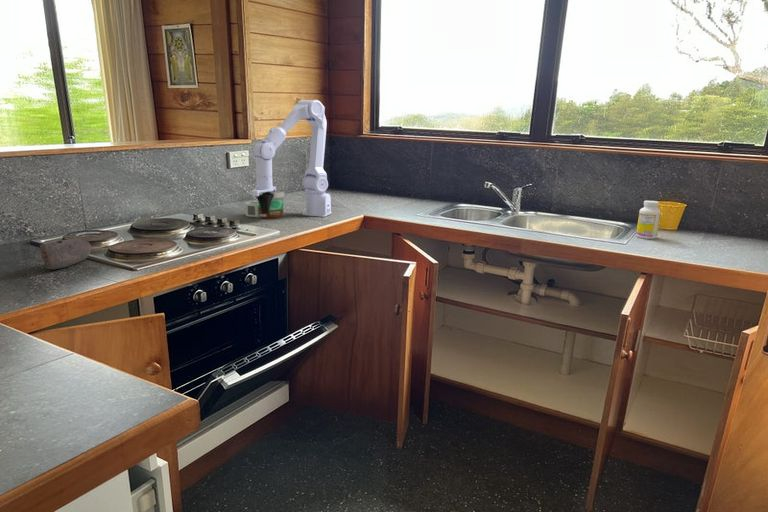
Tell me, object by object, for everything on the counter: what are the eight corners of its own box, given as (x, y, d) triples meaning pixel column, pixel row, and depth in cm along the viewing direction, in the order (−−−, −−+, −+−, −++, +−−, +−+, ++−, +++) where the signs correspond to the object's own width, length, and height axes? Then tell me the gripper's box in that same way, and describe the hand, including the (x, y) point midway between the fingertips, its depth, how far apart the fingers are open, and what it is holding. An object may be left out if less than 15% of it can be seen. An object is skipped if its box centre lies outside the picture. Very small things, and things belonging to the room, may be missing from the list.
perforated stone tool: (84, 257, 143) (81, 232, 141) (100, 259, 142) (96, 233, 140) (34, 272, 129) (30, 244, 127) (51, 274, 128) (47, 246, 126)
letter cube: (264, 215, 207) (263, 202, 206) (257, 217, 203) (257, 204, 201) (252, 214, 209) (251, 201, 207) (245, 216, 204) (245, 203, 202)
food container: (266, 220, 196) (265, 193, 193) (256, 218, 199) (255, 192, 197) (292, 216, 205) (292, 191, 202) (282, 214, 208) (282, 189, 206)
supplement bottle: (645, 234, 190) (651, 199, 186) (660, 238, 184) (666, 202, 180) (631, 235, 187) (636, 200, 184) (646, 240, 181) (652, 203, 178)
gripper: (264, 173, 199) (265, 209, 203) (244, 177, 186) (245, 215, 189) (280, 174, 198) (281, 210, 201) (262, 178, 184) (263, 217, 188)
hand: (265, 213), depth 195 cm, fingers closed
